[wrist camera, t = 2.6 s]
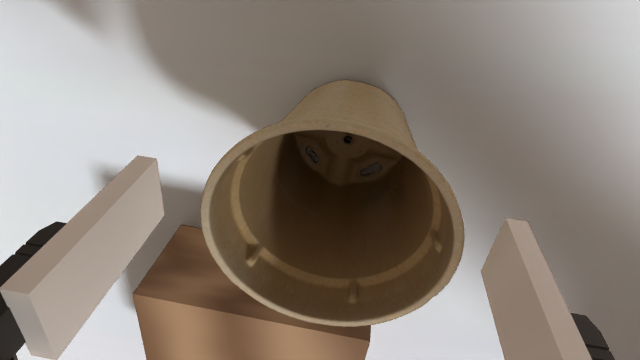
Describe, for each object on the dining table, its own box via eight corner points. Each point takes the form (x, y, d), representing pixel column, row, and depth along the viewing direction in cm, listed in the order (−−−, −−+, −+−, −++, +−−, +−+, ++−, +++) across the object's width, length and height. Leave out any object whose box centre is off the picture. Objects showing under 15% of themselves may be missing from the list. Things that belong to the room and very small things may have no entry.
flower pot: (366, 232, 25) (357, 357, 18) (234, 150, 23) (163, 253, 16) (479, 119, 20) (528, 229, 13) (322, 5, 18) (277, 58, 11)
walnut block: (373, 261, 26) (370, 341, 21) (344, 374, 33) (336, 455, 28) (180, 224, 27) (132, 293, 22) (192, 343, 34) (158, 416, 29)
